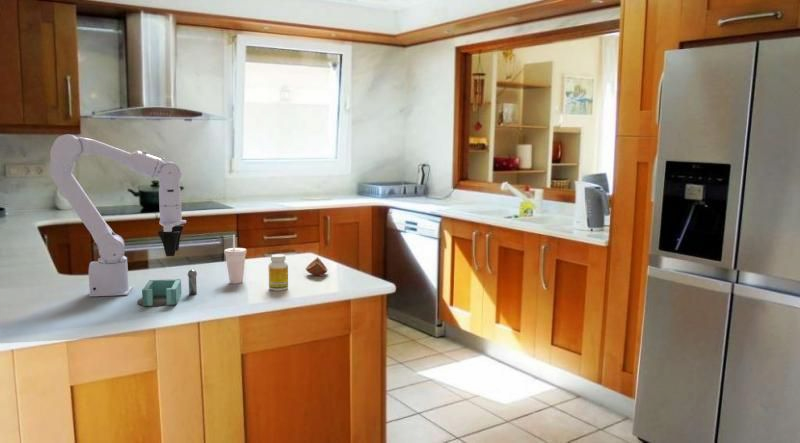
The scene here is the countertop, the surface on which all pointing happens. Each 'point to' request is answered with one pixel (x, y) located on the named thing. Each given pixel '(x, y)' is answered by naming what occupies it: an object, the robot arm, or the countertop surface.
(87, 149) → the robot arm
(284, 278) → the supplement bottle
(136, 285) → the countertop surface
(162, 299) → the coaster
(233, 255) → the smoothie
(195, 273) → the cylinder
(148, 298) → the c link
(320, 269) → the brown wedge block
